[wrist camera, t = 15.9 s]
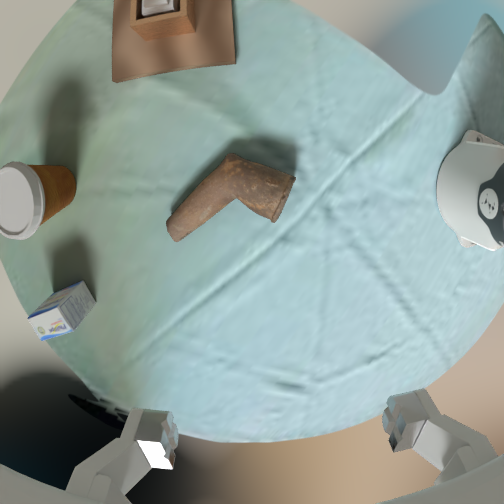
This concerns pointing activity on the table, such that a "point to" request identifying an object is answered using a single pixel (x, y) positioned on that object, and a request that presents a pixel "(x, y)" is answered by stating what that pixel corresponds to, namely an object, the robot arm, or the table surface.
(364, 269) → the table surface
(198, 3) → the wavy brown square sheet
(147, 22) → the tan hollow cube
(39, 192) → the disposable coffee cup
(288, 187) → the pipe
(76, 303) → the medicine box
